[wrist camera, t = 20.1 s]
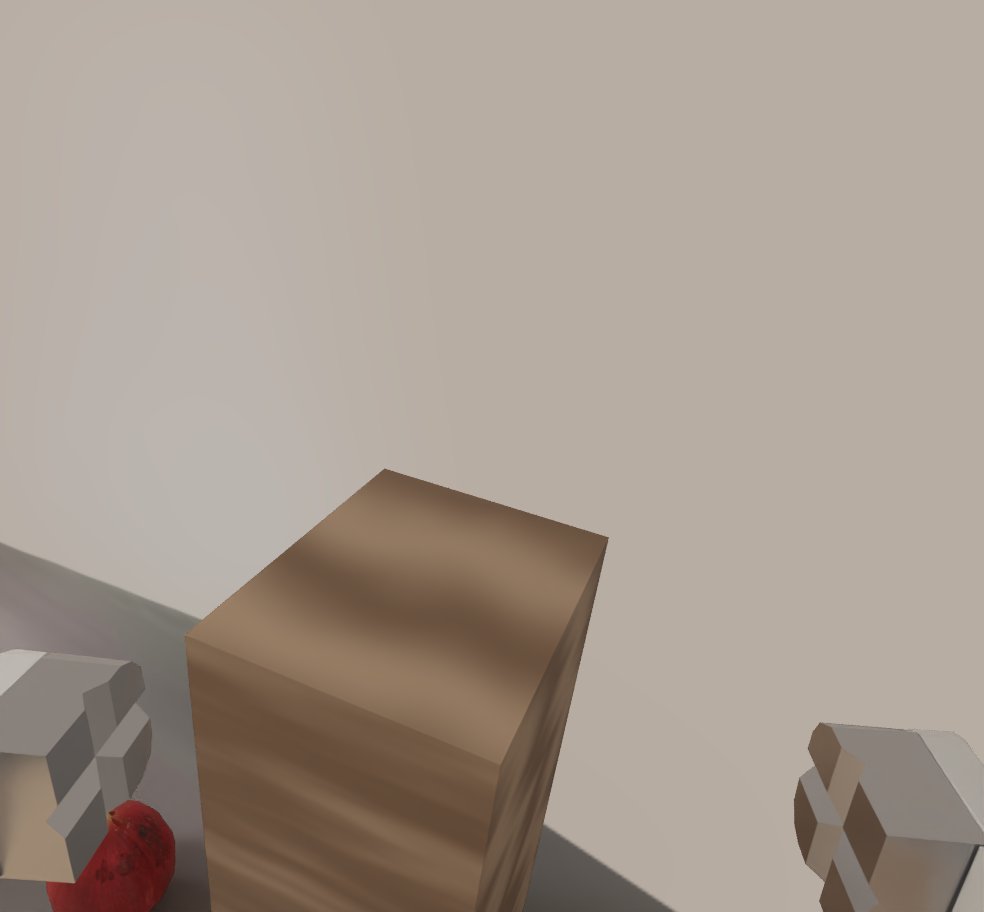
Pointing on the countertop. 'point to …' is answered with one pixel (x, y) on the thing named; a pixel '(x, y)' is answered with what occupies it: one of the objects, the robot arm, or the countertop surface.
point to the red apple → (122, 866)
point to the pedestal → (390, 706)
